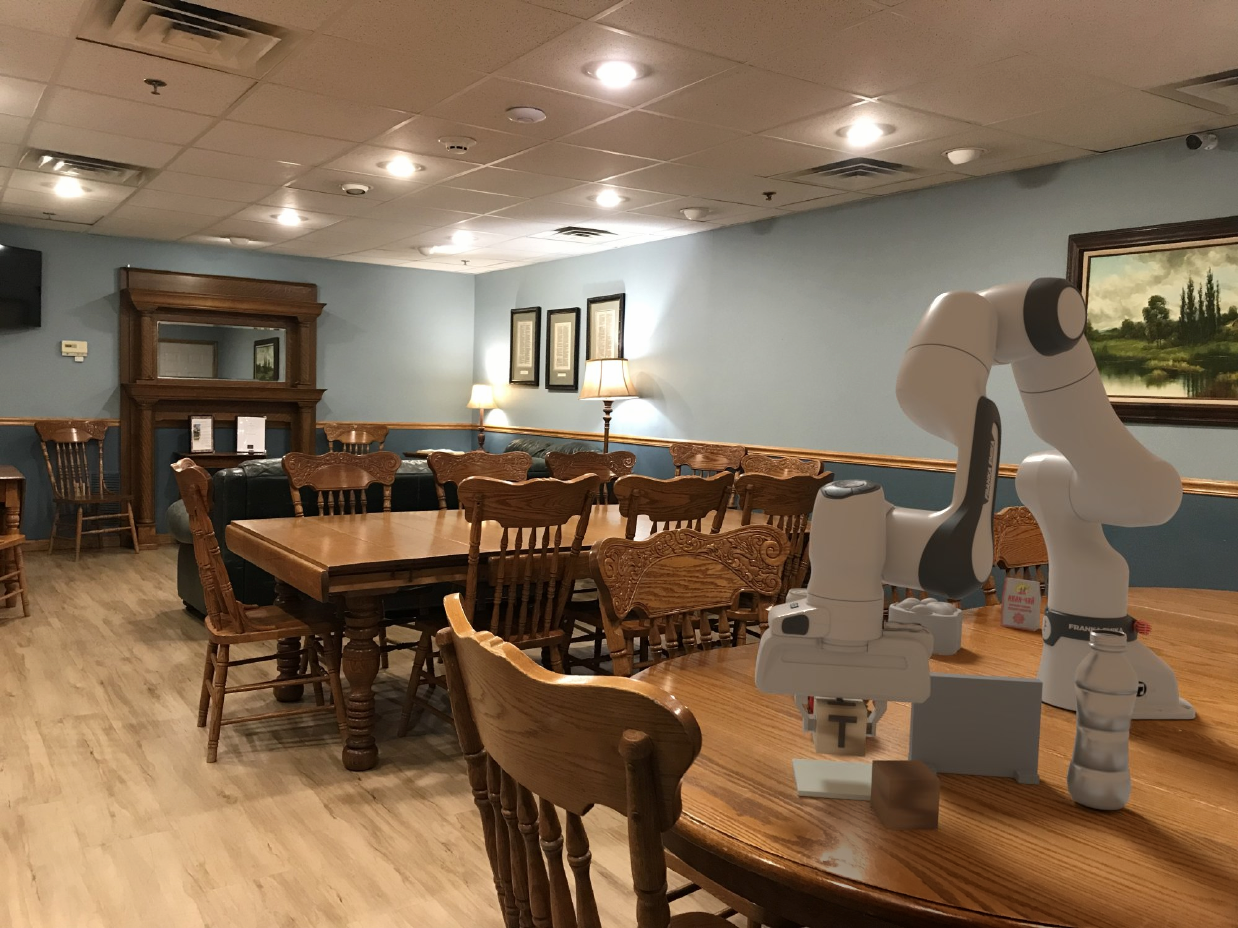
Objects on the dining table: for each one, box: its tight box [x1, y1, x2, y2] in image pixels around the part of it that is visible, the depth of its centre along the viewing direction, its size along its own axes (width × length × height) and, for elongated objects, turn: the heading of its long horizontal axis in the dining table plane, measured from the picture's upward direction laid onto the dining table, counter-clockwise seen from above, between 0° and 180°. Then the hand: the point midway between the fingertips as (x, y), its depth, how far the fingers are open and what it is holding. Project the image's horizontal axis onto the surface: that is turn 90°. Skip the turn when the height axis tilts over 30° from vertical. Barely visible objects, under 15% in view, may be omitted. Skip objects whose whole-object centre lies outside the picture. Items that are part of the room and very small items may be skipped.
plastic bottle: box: [1065, 629, 1139, 811], centre depth 108 cm, size 6×7×20 cm
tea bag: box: [999, 577, 1042, 632], centre depth 198 cm, size 4×7×10 cm, turn 51°
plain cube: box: [869, 759, 941, 831], centre depth 103 cm, size 6×6×6 cm
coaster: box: [791, 757, 872, 802], centre depth 113 cm, size 10×10×1 cm
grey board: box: [907, 672, 1043, 785], centre depth 117 cm, size 15×5×12 cm, turn 84°
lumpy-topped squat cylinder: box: [888, 597, 963, 656], centre depth 180 cm, size 10×13×9 cm
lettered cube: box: [812, 696, 868, 758], centre depth 112 cm, size 6×6×6 cm
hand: (838, 732), depth 113 cm, fingers closed on lettered cube, 5 cm apart
